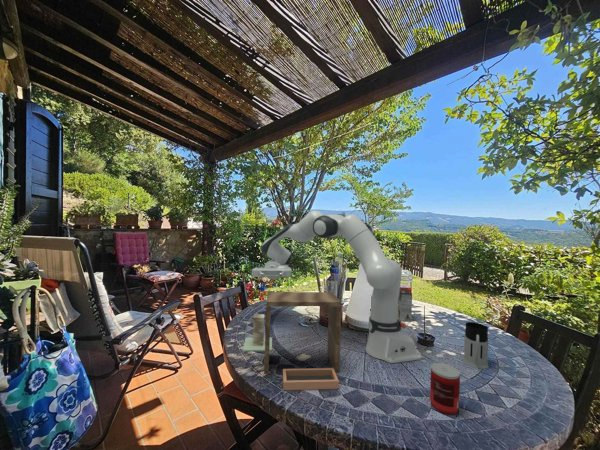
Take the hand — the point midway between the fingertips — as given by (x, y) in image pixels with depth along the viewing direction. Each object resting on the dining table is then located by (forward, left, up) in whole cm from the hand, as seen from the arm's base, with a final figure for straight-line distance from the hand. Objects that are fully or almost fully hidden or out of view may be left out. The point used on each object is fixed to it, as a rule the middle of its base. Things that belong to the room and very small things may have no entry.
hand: (271, 275), depth 130 cm
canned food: (-53, +55, -28) cm, 82 cm away
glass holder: (-81, +33, -28) cm, 92 cm away
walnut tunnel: (-12, +29, -28) cm, 42 cm away
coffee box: (-78, -19, -28) cm, 85 cm away
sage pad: (+5, +13, -28) cm, 31 cm away
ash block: (+5, +13, -28) cm, 31 cm away
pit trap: (-14, +42, -28) cm, 52 cm away
